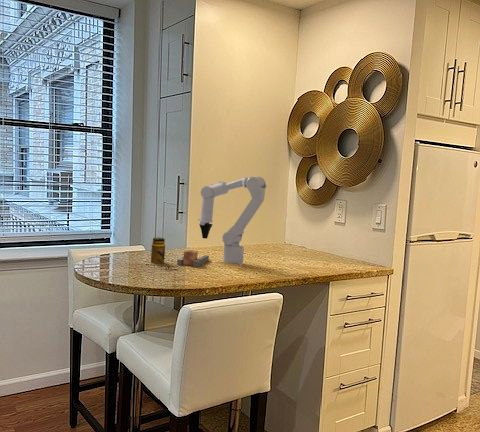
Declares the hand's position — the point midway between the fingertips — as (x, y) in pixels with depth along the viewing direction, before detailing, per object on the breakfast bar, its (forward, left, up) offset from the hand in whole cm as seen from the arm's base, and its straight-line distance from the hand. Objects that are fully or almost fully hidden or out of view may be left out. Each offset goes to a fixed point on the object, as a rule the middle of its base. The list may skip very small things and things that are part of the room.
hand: (204, 238), depth 238 cm
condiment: (+16, +24, -11) cm, 31 cm away
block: (+1, +20, -10) cm, 22 cm away
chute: (+1, +15, -10) cm, 18 cm away
